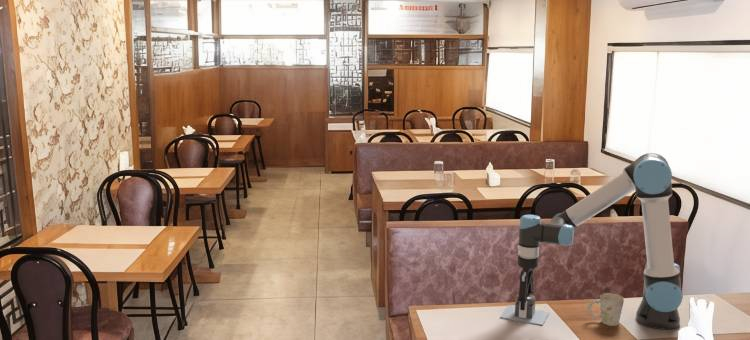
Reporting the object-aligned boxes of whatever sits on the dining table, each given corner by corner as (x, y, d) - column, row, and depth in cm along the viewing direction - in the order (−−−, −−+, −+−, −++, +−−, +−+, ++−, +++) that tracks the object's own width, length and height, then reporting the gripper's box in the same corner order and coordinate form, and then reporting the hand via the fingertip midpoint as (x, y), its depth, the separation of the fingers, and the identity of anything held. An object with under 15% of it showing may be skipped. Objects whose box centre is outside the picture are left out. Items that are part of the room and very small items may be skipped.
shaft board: (549, 313, 254) (550, 300, 253) (542, 325, 242) (543, 312, 241) (508, 305, 261) (508, 293, 260) (499, 317, 249) (500, 305, 248)
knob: (535, 312, 253) (537, 294, 252) (532, 319, 247) (533, 300, 245) (517, 309, 256) (518, 291, 255) (513, 316, 250) (514, 297, 248)
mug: (623, 328, 241) (625, 302, 239) (587, 325, 243) (589, 299, 241) (620, 319, 249) (622, 294, 247) (585, 316, 251) (587, 291, 249)
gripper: (524, 247, 258) (520, 302, 262) (511, 262, 240) (508, 321, 244) (543, 250, 255) (540, 306, 259) (532, 265, 237) (528, 325, 241)
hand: (524, 313), depth 251 cm, fingers closed on knob, 7 cm apart
